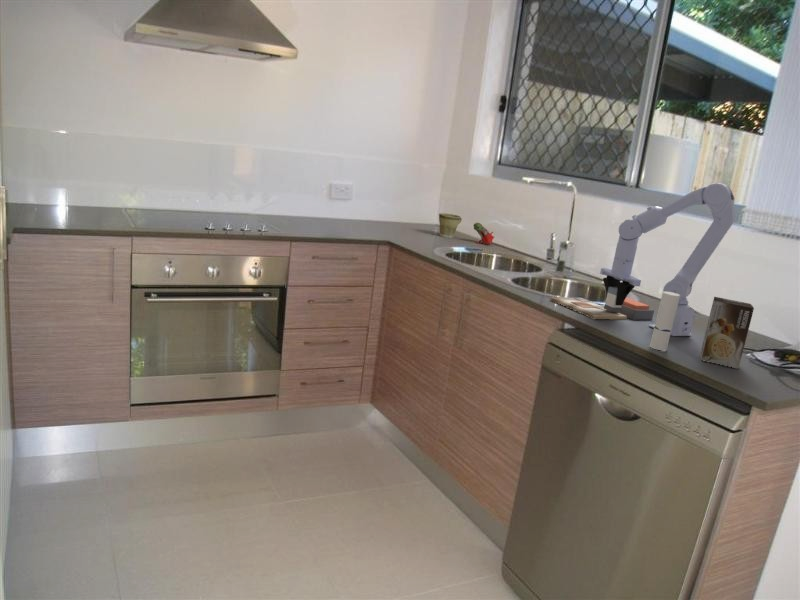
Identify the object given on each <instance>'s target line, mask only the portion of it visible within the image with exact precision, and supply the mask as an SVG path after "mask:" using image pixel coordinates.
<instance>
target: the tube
mask: <svg viewBox="0 0 800 600" xmlns="http://www.w3.org/2000/svg"><path fill="white" fill-rule="evenodd" d="M679 298H680V295H679V294H676V293H673V292H666V291H664V292H663V291H662V294H661V297H660V301H659V302H660V303H659V306H658V311H657V315H656V318H655V323H654V324H655V327H654V328H653V330H652V336H651V339H650V344H649V348H650V347H652V348H655V349H661V350H666V351H667V350H668V345H669V343H670V338H671V335H670V334H671V330H672V326H673V322H674V318H675V314H676V310H677V306H678V302H679ZM652 348H651V349H652Z"/></svg>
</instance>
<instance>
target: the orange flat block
mask: <svg viewBox="0 0 800 600" xmlns="http://www.w3.org/2000/svg"><path fill="white" fill-rule="evenodd" d="M622 305H625V306H627V307H630V308H633V309H635V310H649V309H650V305H648V304H645V303H643V302H641V301H637V300H635V299H632V298H630V297H626V299H625V300H624V302H623V304H622Z"/></svg>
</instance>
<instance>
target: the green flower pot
mask: <svg viewBox="0 0 800 600" xmlns="http://www.w3.org/2000/svg"><path fill="white" fill-rule="evenodd" d="M438 223H439V236H440V237H443V238H448V239H449V238H450V239H453V238H454V237H455V234H456V230H457V227H458V226H459V224H460V223H462V217H461V216H460V215H458V214H453V213H445V212H444V213H443V212H440V213H438Z"/></svg>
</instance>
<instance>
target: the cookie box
mask: <svg viewBox="0 0 800 600" xmlns="http://www.w3.org/2000/svg"><path fill="white" fill-rule="evenodd" d="M710 308H711V309H710V313H709V317H708V320H707V324H706V329H705V332H704V336H703V340H702V344H701V348H700V352H699V357H700V361H701V360H705V361H709V362H713V363H716V364H715V365H718V364H720V365H719V366H722V365H724V366H723V367H727V366H728V368H731V367H732V369H737V370H739V368H740V365H741V360H742V356H743V353H744V348H745V345H746V341H747V338H748V334H749V330H750V326H751V321H752V317H753V314H754V310H755V308H754V306H753V305H752V304H751V303H747V302H745V301H744V302H742V301H738V300H732V299H728V298H723V297H719V296H713V300H712V303H711V307H710ZM709 362H708V363H709ZM713 363H712V364H713Z"/></svg>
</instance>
